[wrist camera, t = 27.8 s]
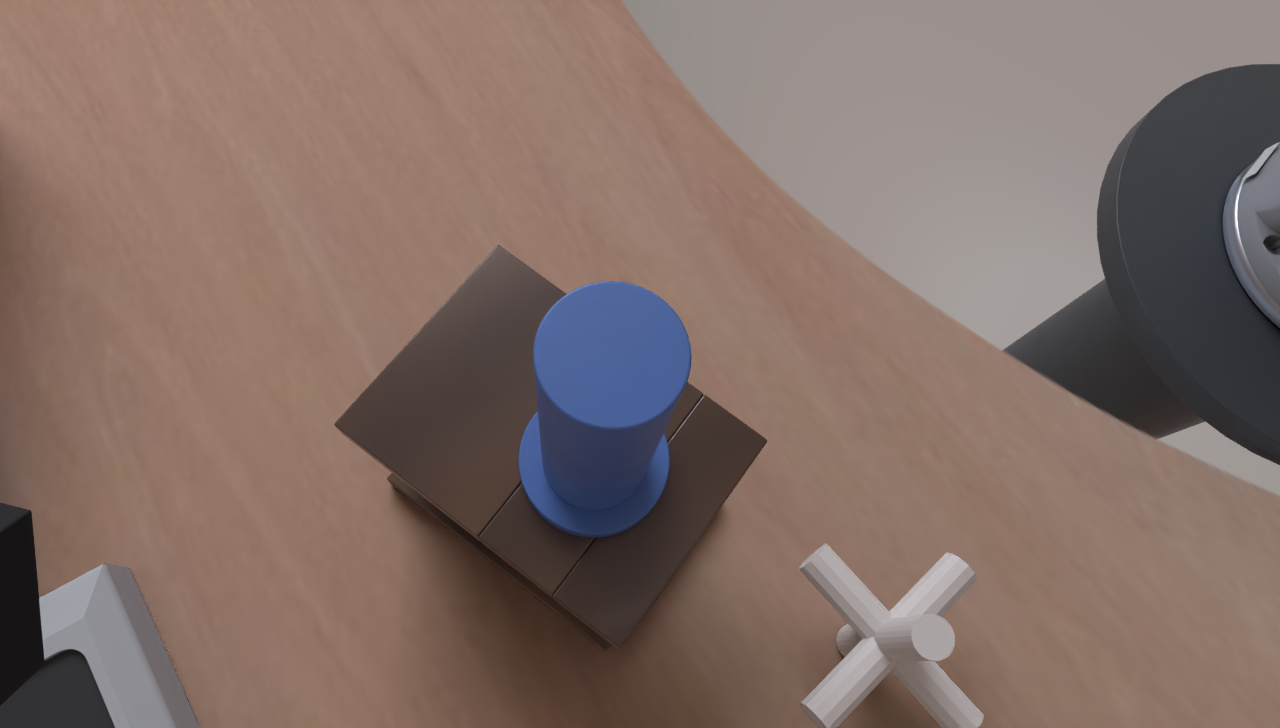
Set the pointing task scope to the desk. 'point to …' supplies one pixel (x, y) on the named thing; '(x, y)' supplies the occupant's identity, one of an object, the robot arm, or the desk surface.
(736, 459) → the stand
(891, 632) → the white crossed rods piece
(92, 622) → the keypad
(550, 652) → the desk surface
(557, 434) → the peg
